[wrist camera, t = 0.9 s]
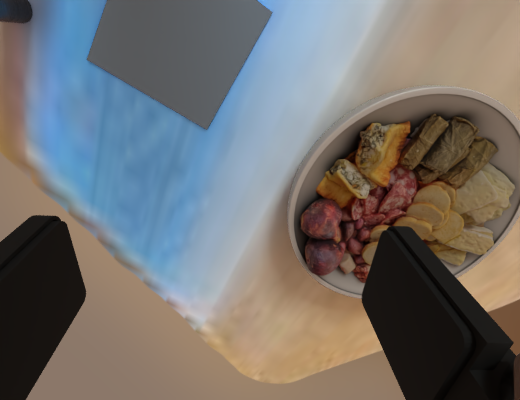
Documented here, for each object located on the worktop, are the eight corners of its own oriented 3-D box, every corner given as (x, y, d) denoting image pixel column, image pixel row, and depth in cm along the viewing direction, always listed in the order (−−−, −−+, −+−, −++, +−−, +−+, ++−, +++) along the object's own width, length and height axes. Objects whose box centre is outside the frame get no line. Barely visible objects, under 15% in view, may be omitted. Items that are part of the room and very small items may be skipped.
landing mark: (139, -91, 26) (138, -91, 26) (272, 12, 30) (272, 12, 30) (87, 59, 31) (86, 59, 31) (206, 129, 35) (206, 129, 35)
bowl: (477, 24, 32) (542, 21, 25) (516, 222, 45) (566, 256, 38) (241, 163, 38) (241, 191, 31) (335, 302, 51) (350, 343, 44)
